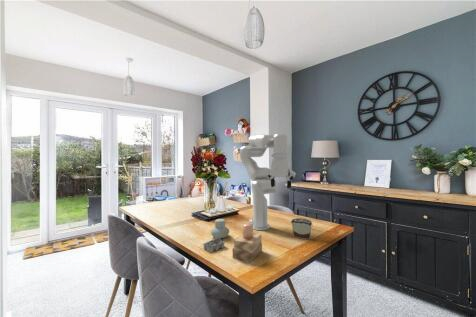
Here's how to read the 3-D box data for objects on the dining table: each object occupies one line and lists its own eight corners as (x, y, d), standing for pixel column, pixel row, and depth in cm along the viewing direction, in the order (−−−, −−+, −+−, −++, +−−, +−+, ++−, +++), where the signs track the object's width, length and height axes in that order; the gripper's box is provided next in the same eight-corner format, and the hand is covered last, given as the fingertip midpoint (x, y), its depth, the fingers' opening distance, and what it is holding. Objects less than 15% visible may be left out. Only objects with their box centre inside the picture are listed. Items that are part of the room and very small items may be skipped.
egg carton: (219, 243, 125) (219, 236, 125) (226, 247, 119) (226, 240, 119) (201, 248, 119) (201, 240, 118) (208, 253, 112) (208, 244, 112)
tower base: (232, 258, 107) (232, 248, 107) (246, 248, 118) (246, 239, 118) (248, 262, 102) (248, 253, 102) (262, 252, 113) (261, 243, 113)
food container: (314, 236, 132) (314, 219, 132) (312, 240, 127) (312, 222, 126) (294, 233, 138) (293, 217, 138) (290, 236, 133) (290, 219, 133)
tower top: (234, 249, 106) (234, 240, 106) (245, 240, 118) (245, 231, 117) (252, 253, 102) (251, 243, 102) (261, 242, 114) (261, 233, 114)
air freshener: (220, 241, 127) (220, 223, 127) (209, 238, 131) (208, 221, 131) (231, 235, 136) (230, 218, 136) (219, 232, 141) (219, 216, 141)
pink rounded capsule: (240, 237, 109) (240, 225, 109) (246, 234, 113) (246, 222, 113) (249, 239, 106) (249, 227, 106) (254, 236, 110) (254, 224, 110)
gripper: (263, 156, 127) (263, 187, 127) (292, 156, 116) (292, 189, 117) (269, 156, 133) (270, 185, 133) (298, 156, 122) (298, 187, 123)
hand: (280, 187), depth 125 cm, fingers open, 9 cm apart
